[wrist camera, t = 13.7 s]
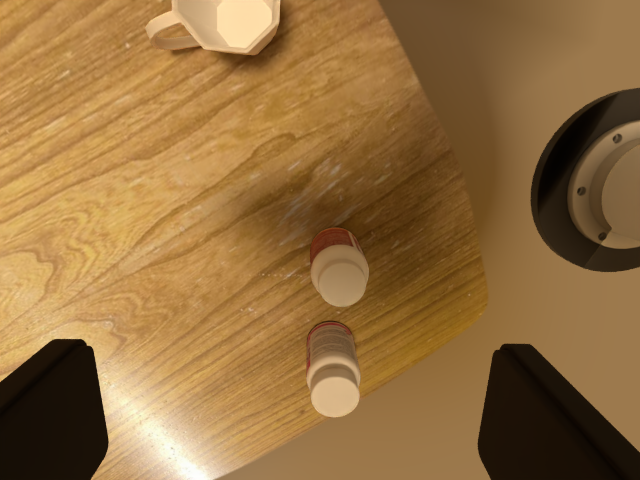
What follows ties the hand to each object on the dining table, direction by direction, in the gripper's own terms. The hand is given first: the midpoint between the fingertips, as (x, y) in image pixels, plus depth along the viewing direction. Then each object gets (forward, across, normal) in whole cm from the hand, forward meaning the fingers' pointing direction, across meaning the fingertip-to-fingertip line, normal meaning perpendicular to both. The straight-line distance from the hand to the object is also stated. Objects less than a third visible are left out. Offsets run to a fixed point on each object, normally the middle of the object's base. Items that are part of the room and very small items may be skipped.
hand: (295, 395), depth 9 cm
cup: (+27, +6, -13) cm, 31 cm away
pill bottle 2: (+27, -2, +15) cm, 31 cm away
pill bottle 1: (+27, -3, +5) cm, 28 cm away
